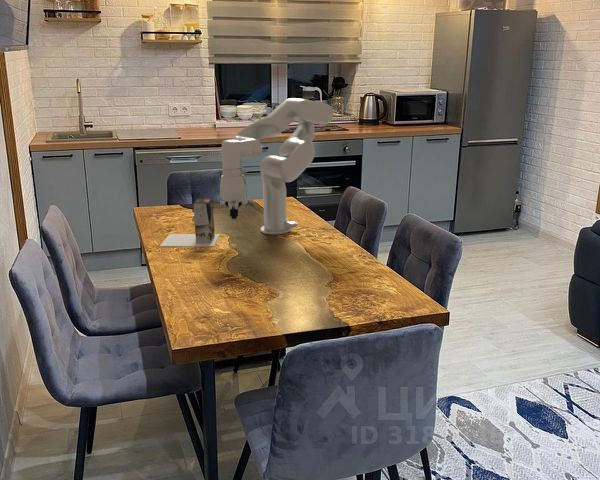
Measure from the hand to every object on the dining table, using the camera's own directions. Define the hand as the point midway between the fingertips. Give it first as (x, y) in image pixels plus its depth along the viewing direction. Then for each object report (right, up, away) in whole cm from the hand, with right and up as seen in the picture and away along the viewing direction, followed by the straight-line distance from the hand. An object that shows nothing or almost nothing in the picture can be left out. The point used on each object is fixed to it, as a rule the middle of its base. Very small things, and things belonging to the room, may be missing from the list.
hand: (234, 218), depth 234 cm
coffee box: (-12, -9, +3) cm, 15 cm away
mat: (-18, -9, +3) cm, 20 cm away
